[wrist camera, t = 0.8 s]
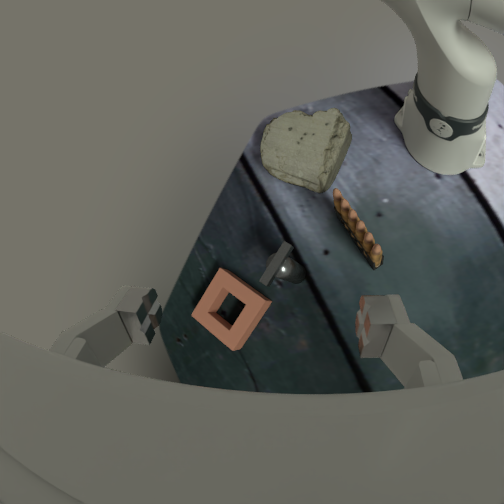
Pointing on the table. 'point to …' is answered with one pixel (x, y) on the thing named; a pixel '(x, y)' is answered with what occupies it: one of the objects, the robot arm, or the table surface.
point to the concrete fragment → (306, 148)
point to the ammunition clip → (357, 230)
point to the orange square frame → (245, 321)
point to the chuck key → (283, 267)
